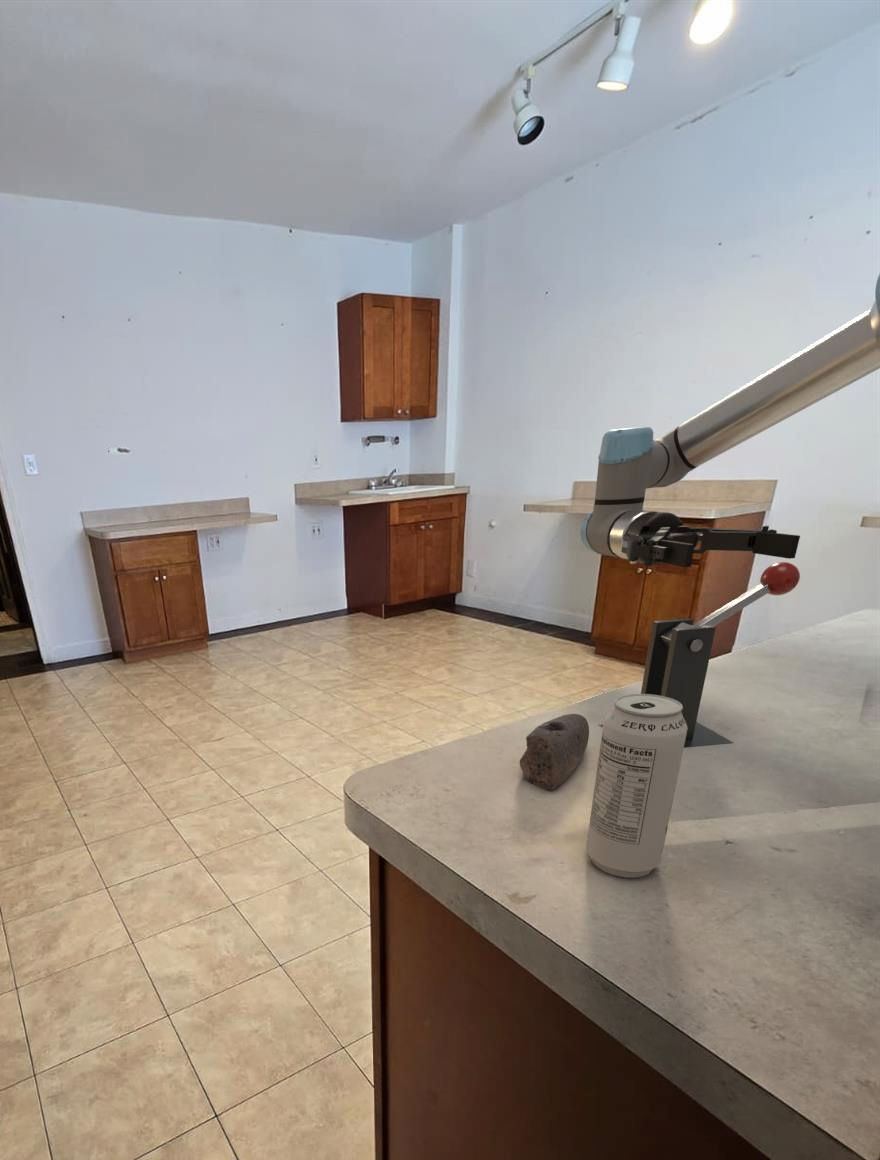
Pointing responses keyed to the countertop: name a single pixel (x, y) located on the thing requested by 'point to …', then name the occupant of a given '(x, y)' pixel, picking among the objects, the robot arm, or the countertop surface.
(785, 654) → the countertop surface
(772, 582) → the red knob lever
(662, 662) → the bracket
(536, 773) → the perforated stone tool
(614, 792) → the energy drink can
